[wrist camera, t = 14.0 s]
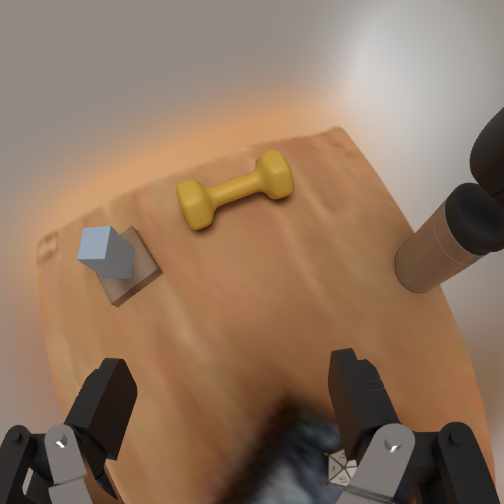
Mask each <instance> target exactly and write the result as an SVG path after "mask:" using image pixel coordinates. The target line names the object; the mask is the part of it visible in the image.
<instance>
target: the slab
mask: <svg viewBox="0 0 504 504" xmlns="http://www.w3.org/2000/svg"><path fill="white" fill-rule="evenodd" d="M120 236H121V237H122V238H123V239H124V240H125V241H126V242H127V243H128V244H129V245H130V246H131V247H132V248H133V249H134V250H135V253H134V260H133V268H132V276H131V279H109V278H104V277H103V276H101V275H100V274H98V273H97V272H96V274H97V276H98V278H99V280H100V283H101V285H102V287H103V289H104V291H105V293H106V295H107V297H108V299H109V301H110V303H111V304H112V305H114V306H116V307H119V306H120V305H121V304H123V303H124V302H125V301H127V300H128V299H129V298H131V297H132V296H133V295H135V294H136V293H137V292H138V291H140V290H141V289H142V288H144V287H145V286H146V285H148V284H149V283H151V282H152V281H153V280H155V279H156V278H157V277H159V276H160V275H161V274H163V273H162V271H161V270H160V268H159V266H158V265H157V263H156V262H155V260H154V258H153V257H152V255H151V254H150V252H149V250H148V249H147V247H146V245H145V244H144V242H143V240H142V239H141V237H140V235H139V234H138V232H137V231H136V230H135V228H134V227H133V226H131V227H130V228H128V229H127V230H126V231H124V232H123V233H122V234H120Z"/></svg>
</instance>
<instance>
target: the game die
mask: <svg viewBox="0 0 504 504" xmlns="http://www.w3.org/2000/svg"><path fill="white" fill-rule="evenodd" d="M324 454H325V455H326V456H328V481H327V482H325V483H324V484H323V485H328V483H331V484H335V485H339V486H343V487H347V485H348V483H349V482H350V480H351V478H352V476H353V475H354V473H355V471H356V469H357V464H356V461H355V460H352V461H348V462H347V461H346V457H345V452H344V448H343V449H340V450H338V451H336V452H334V453H332V454H329V453H327V452H326V453H324Z"/></svg>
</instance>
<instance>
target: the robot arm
mask: <svg viewBox="0 0 504 504" xmlns="http://www.w3.org/2000/svg"><path fill="white" fill-rule="evenodd" d="M470 169H471V173H472V175H473V177H474V178H475V180H476V181H477V182H478V184H475V183H464V184H461V185H459V186H458V187H457V188H456V189H455V190H454V191H453V192H452V193H451V194H450V195H449V197H448V198H447V199H446V200H445V201H444V202H443V203H442V204H441V206H440V207H439V208H438V209H437V210H436V211H435V213H434V214H433V215H432V216H431V217H430V218H429V219H428V220H427V221H426V222H425V223H424V224H423V225H422V227H421V228H420V229H419V230H418V231H417V232H416V233H415V234H414V235H413V236H412V237H411V238H410V239H409V240H408V241H407V242H406V243H405V244H404V245H403V246H402V247H401V248H400V249H399V251H398V252H397V255H396V258H395V270H396V274H397V276H398V278H399V280H400V281H401V283H402V284H403V285H404V286H405V287H406V288H407V289H409V290H410V291H413V292H417V293H423V292H426V291H428V290H430V289H432V288H434V287H435V286H437V285H439V284H441V283H442V282H444V281H446V280H448V279H449V278H451V277H452V276H454V275H456V274H457V273H459V272H461V271H462V270H464V269H465V268H467V267H469V266H470V265H472V264H473V263H475V262H476V261H478V260H479V259H480V258H482V257H484V256H485V255H487V254H488V253H490V252H497V251H500V250H502V249H504V107H503V108H502V109H501V110H500V111H499V112H498V113H497V114H496V115H495V116H494V117H493V118H492V119H491V120H490V122H489V123H488V124H487V125H486V126H485V128H484V129H483V130H482V132H481V133H480V135H479V136H478V138H477V139H476V142H475V143H474V145H473V148H472V151H471V155H470ZM328 388H329V393H330V397H331V401H332V405H333V409H334V412H335V416H336V420H337V424H338V428H339V432H340V436H341V440H342V444H343V448H344V452H345V457H346V461H347V462H348V461H352V460H355V461H356V464H357V469H356V471H355V473H354V475H353V476H352V478H351V480H350V482H349V483H348V485H347V487H346V488H345V490H344V491H343V493H342V495H341V496H340V498H339V499H338V501H337V502H336V504H393V501H392V499H393V496H394V494H395V492H396V489H397V487H398V485H399V484H412V487H413V491H414V495H415V499H416V503H417V504H500V501H499V498H498V495H497V492H496V489H495V486H494V483H493V480H492V478H491V475H490V472H489V470H488V467H487V465H486V462H485V460H484V457H483V455H482V452H481V450H480V448H479V445H478V443H477V441H476V438H475V436H474V434H473V432H472V430H471V429H470V427H469V426H467V425H466V424H464V423H462V422H451V423H448V424H447V425H445V426H444V427H443V428H442V429H441V431H440V432H414V431H411V430H410V429H409V428H408V427H406V426H404V425H402V424H401V423H400V421H399V419H398V417H397V415H396V412H395V410H394V408H393V405H392V403H391V401H390V398H389V396H388V394H387V392H386V389H384V385H383V383H382V380H380V376H379V374H378V372H377V369H376V367H374V366H373V365H372V364H371V363H370V362H369V361H368V360H367V359H364V360H359V361H358V360H357V358H356V355H355V353H354V351H353V349H352V348H348V349H342V350H335V351H332V352H331V359H330V367H329V375H328ZM136 398H137V386H136V383H135V381H134V379H133V377H132V375H131V373H130V371H129V369H128V366H127V364H126V362H125V361H124V360H123V359H116V358H105V359H104V360H103V362H102V364H101V365H100V367H99V369H95V370H94V371H93V372H92V373H91V374H90V375H89V376H88V377H87V378H86V380H85V382H84V384H83V386H82V388H81V390H80V392H79V396H77V398H76V400H75V402H74V404H73V406H72V408H71V410H70V412H69V414H68V416H67V418H66V420H65V422H64V424H59V425H56V426H53V427H52V428H50V429H49V430H48V432H47V433H46V434H31V433H30V432H29V430H28V429H27V428H26V427H24V426H22V425H16V426H14V427H12V428H11V429H9V431H8V432H7V434H6V436H5V438H4V440H3V442H2V445H1V447H0V504H125V503H124V502H123V500H122V498H121V496H120V494H119V492H118V490H117V488H116V486H115V484H114V482H113V480H112V478H111V475H110V473H109V471H108V469H107V467H106V465H105V461H106V458H107V459H111V460H116V461H117V457H118V454H119V451H120V447H121V444H122V441H123V438H124V435H125V431H126V428H127V425H128V422H129V419H130V416H131V413H132V410H133V407H134V404H135V401H136ZM28 468H30V469H32V470H33V475H32V477H31V480H30V484H29V487H28V490H27V493H26V495H24V493H23V490H22V486H23V483H24V480H25V477H26V474H27V471H28Z"/></svg>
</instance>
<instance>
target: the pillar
mask: <svg viewBox="0 0 504 504" xmlns="http://www.w3.org/2000/svg"><path fill="white" fill-rule="evenodd" d="M134 253H135V250H134V249H133V248H132V247H131V246H130V245H129V244H128V243H127V242H126V241H125V240H124V239H123V238H122V237H121V236H120V235H119V234H118V233H117V232H116V231H115V230H114V229H113V228H112V226H102V227H89V228H84V230H83V234H82V238H81V243H80V248H79V253H78V258H77V260H79V261H80V262H82V263H83V264H85V265H86V266H88V267H89V268H91V269H92V270H94V271H95V272H97V273H98V274H100V275H101V276H103V277H104V278H109V279H131V276H132V268H133V260H134Z"/></svg>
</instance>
